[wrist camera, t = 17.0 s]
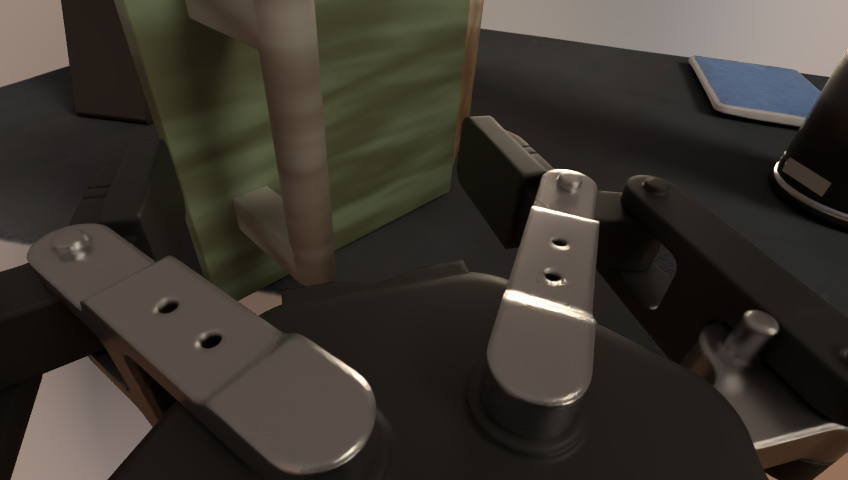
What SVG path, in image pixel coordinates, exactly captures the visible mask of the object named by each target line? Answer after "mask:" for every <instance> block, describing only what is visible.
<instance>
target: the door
mask: <svg viewBox="0 0 848 480" xmlns="http://www.w3.org/2000/svg"><path fill="white" fill-rule="evenodd" d="M114 3H115V6H116V9H117V12H118V15H119V18H120V21H121V24H122V27H123V30H124V33H125V36H126V39H127V42H128V45H129V49H130V52H131V55H132V58H133V61H134V64H135V67H136V70H137V73H138V76H139V79H140V82H141V85H142V88H143V91H144V95H145V98H146V101H147V104H148V107H149V110H150V113H151V116H152V119H153V122H154V125H155V128H156V131H157V134H158V137H159V140H160V139H163V140H164V141H165V142H166V144H167V146H168V149H169V152H170V155H171V158H172V162H173V165H174V168H175V171H176V174H177V177H178V180H179V184H180V187H181V190H182V193H183V197H184V202H185V209H186V217H185V220H186V223H187V226H188V229H189V233H190V236H191V239H192V242H193V245H194V248H195V251H196V254H197V257H198V260H199V263H200V266H201V269H202V272H203V275H204V278H205V279H206V280H208V281H209V282H211V283H212V284H214V285H215V286H216V287H218V288H219V289H221V290H222V291H224V292H225V293H226V294H228V295H229V296H231V297H232V298H233V299H235V300H236V301H239V300H240V299H242V298H244V297H246V296H248V295H250V294H252V293H254V292H256V291H258V290H260V289H262V288H264V287H266V286H268V285H270V284H271V283H273V282H275V281H277V280H279V279H281V278H283V277H285V276H287V275H289V274H290V275H291V276H292V277H293V278H294V279H295V280H296V281H298V282H299V283H300V284H302V285H305V286H311V285H317V284H323V283H329V282H330V281H331V280H332V279H333V278H334V277H335V275H336V259H335V250H337V249H339V248H341V247H343V246H345V245H347V244H349V243H351V242H353V241H355V240H356V239H358V238H360V237H362V236H364V235H366V234H368V233H370V232H372V231H374V230H376V229H378V228H380V227H382V226H384V225H385V224H387V223H389V222H391V221H393V220H395V219H397V218H399V217H401V216H403V215H405V214H407V213H409V212H411V211H413V210H414V209H416V208H418V207H420V206H422V205H424V204H426V203H428V202H430V201H432V200H434V199H436V198H438V197H440V196H441V195H443V194H445V193H447V192H449V191H450V185H451V175H452V166H453V157H454V148H455V138H456V129H457V120H458V111H459V101H460V92H461V83H462V74H463V64H464V55H465V46H466V37H467V27H468V18H469V9H470V0H114Z"/></svg>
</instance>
